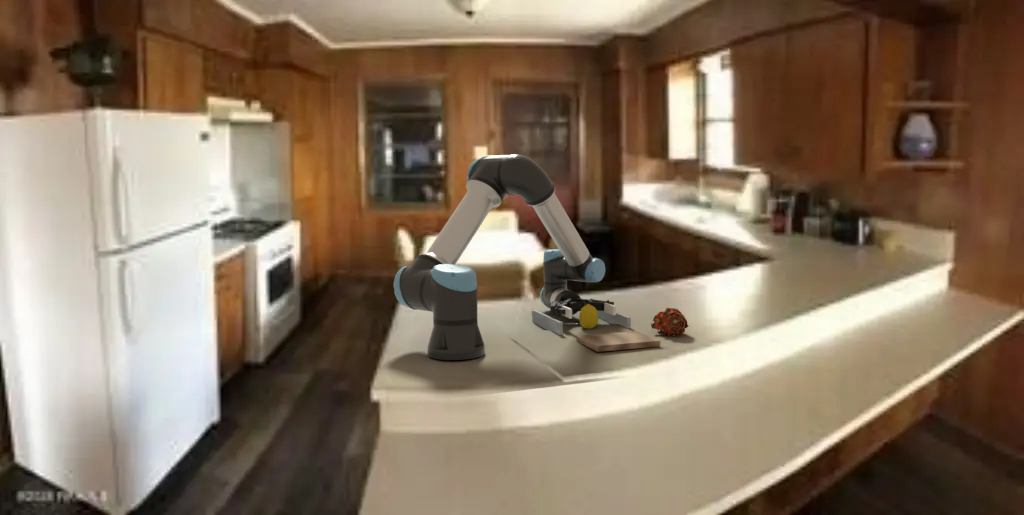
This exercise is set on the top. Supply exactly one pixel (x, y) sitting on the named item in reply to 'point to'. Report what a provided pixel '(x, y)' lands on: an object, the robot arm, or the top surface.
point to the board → (618, 341)
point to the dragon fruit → (670, 322)
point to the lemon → (588, 317)
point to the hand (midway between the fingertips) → (593, 312)
